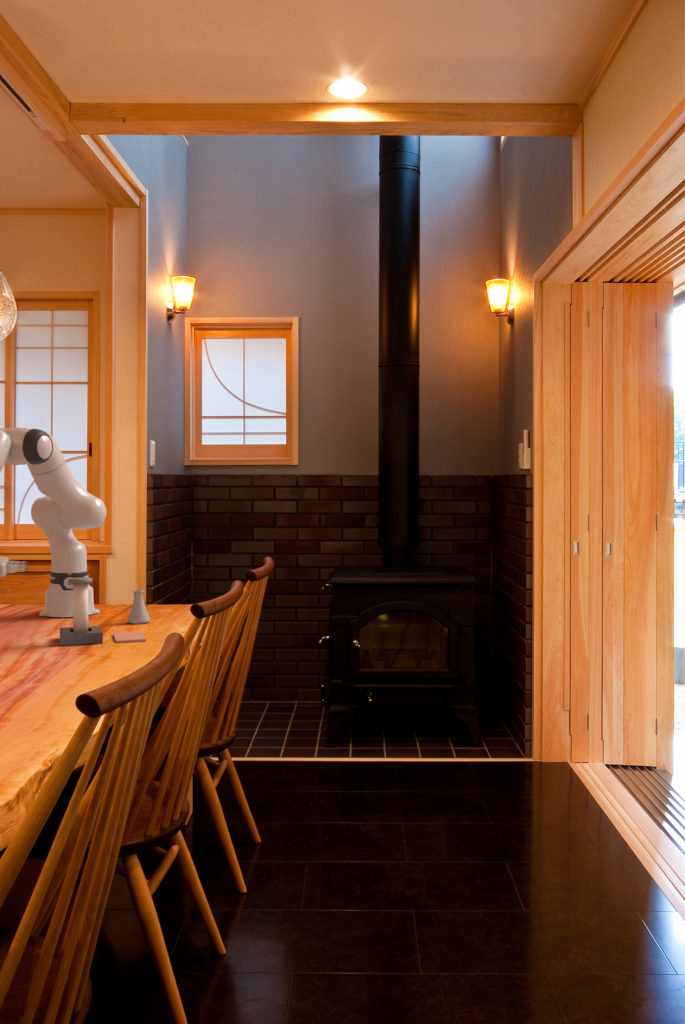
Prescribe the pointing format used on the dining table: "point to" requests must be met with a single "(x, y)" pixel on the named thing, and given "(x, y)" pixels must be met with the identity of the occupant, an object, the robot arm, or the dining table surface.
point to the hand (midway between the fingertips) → (25, 566)
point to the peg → (80, 603)
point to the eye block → (81, 636)
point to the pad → (129, 637)
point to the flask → (138, 609)
